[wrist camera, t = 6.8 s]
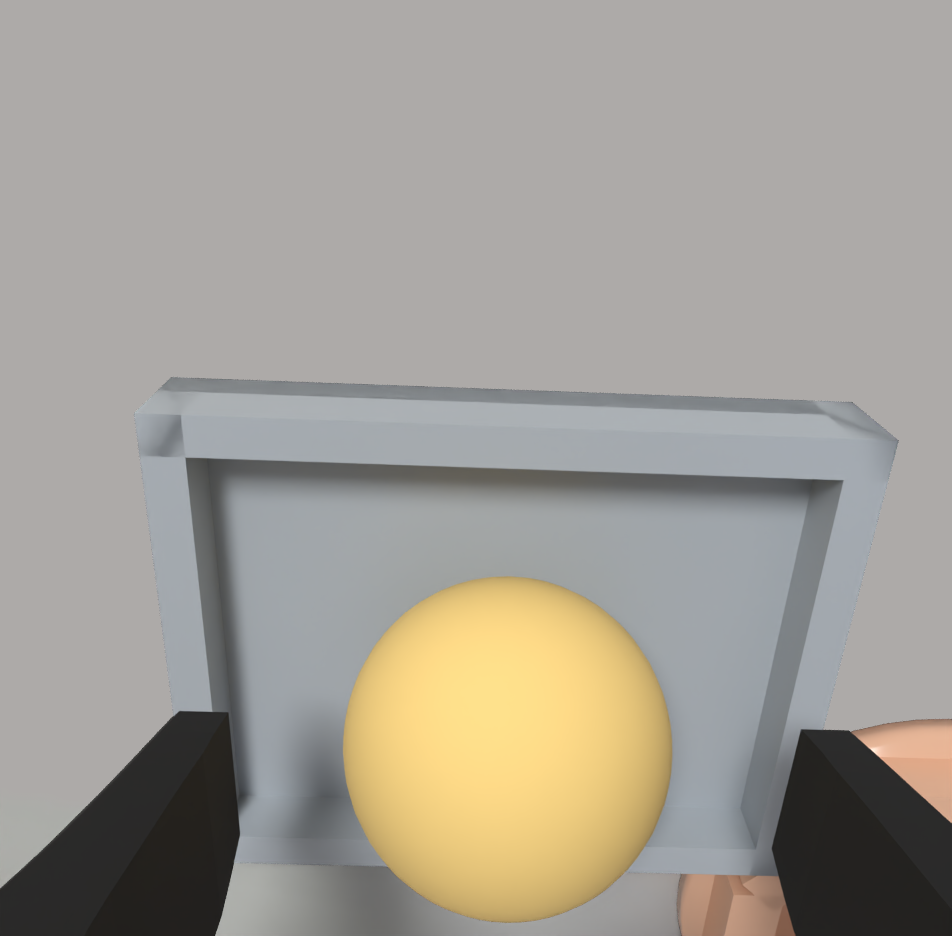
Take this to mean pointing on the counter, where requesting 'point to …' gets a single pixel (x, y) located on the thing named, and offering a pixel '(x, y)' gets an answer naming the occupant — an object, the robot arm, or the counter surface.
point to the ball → (507, 749)
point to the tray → (507, 572)
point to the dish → (761, 897)
